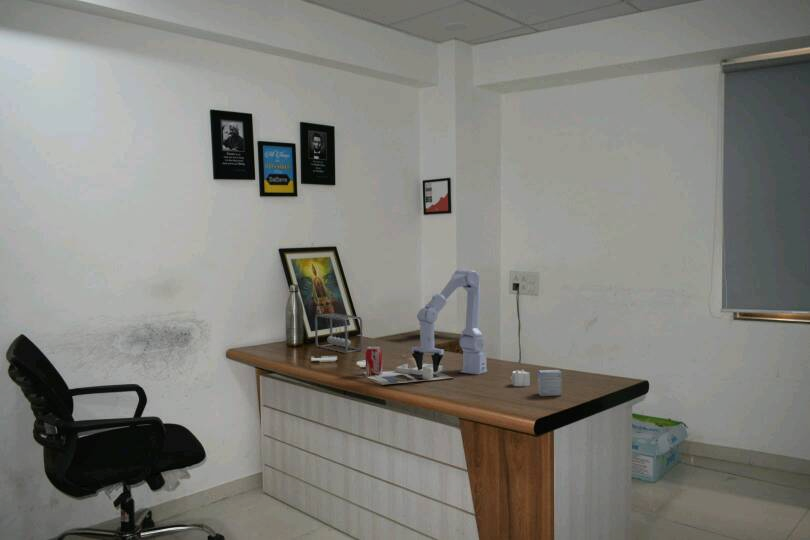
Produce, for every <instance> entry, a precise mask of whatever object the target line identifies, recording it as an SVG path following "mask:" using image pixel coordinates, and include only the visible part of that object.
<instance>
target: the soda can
mask: <svg viewBox="0 0 810 540" xmlns="http://www.w3.org/2000/svg"><path fill="white" fill-rule="evenodd" d="M365 372H366V375H367V376H373V377H374V376H375V375H377V376H381V375H382V374H383V351H382V349H381V346H377V345H376V346H375V345H374V346H373V345H372V346H371V345H370V346H367V347H366V350H365ZM375 377H376V376H375Z"/></svg>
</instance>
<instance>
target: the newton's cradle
mask: <svg viewBox="0 0 810 540" xmlns="http://www.w3.org/2000/svg"><path fill="white" fill-rule="evenodd" d="M314 316H315V317H314V334H315V336H314V337H315V339H314V340H315V346H316V347H317V348H319V347H320V349H323V348H324V349H323V350H328V349H329V350H328V351H332V350H333V352H336V351H338V352H337V353H341V352H342V354H347V353H351V352H361V351H363V349H364V347H363V346H364V344H363V343H364V340H363V339H364V338H363V337H364V335H363V333H364V332H363V318H361V316H355V315H349V314H341V313H336V312H330V313H326V314H318V313H317V314H315V315H314ZM318 317H320V318H323V319H324V318H325V319H329V322H328V321H326V324H327V325H329V326H327V327H328V328H327V329H328V330H329V332H328V333H329V336H328V337H327V339H326V341H327V342H328V343H329V344H325V345H323V344H322V345H319V343H318V342H319V340H318V339H319V337H318ZM353 319H354V320H355V319H357V320H359V323H360V324H359V328H360V329H359V332H360V334H359V335H360V339H359V340H360V348H357V347H354V346H350V345H351V342H352V341H351V340H350V339H349V337H348V333H349V331H350V329H348V325H350V324H351V320H353ZM347 320H349V323H348V321H347ZM336 321H337V322H340V321H341V322H343V323H342V324H339V333H338V334H337V331H338V330H337V329H335V333H333V331H334V330H333V322H336ZM337 325H338V324H337V323H334V326H335V328H337ZM341 325H343V332H344V333H343V335H342V334H341V333H342V331H341ZM336 336H337V337H336ZM340 336H341V337H340ZM334 345H336V346H335V347H339V346H341V347H340V348H343V347H345V348H344V349H345V350H341V349H337V348H332V347H327V346H334ZM348 348H349V349H348ZM352 349H354V350H352ZM348 350H349V351H348Z"/></svg>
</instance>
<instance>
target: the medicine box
mask: <svg viewBox="0 0 810 540" xmlns="http://www.w3.org/2000/svg"><path fill="white" fill-rule="evenodd" d="M562 378H563V372H562V371H561V370H559V369H542V370H541V369H540V370H537V393H538V395H539V396H541V397H547V396H548V397H550V396H562V394H563V393H562V392H563V390H562V387H563V385H562V383H563V379H562Z"/></svg>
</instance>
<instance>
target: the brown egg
mask: <svg viewBox="0 0 810 540" xmlns="http://www.w3.org/2000/svg"><path fill="white" fill-rule="evenodd" d="M406 364H407V365H408V368H410V369H412V368H415V367H417V364H416V361H415V359H414V357H408V358H407V363H406Z"/></svg>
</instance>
